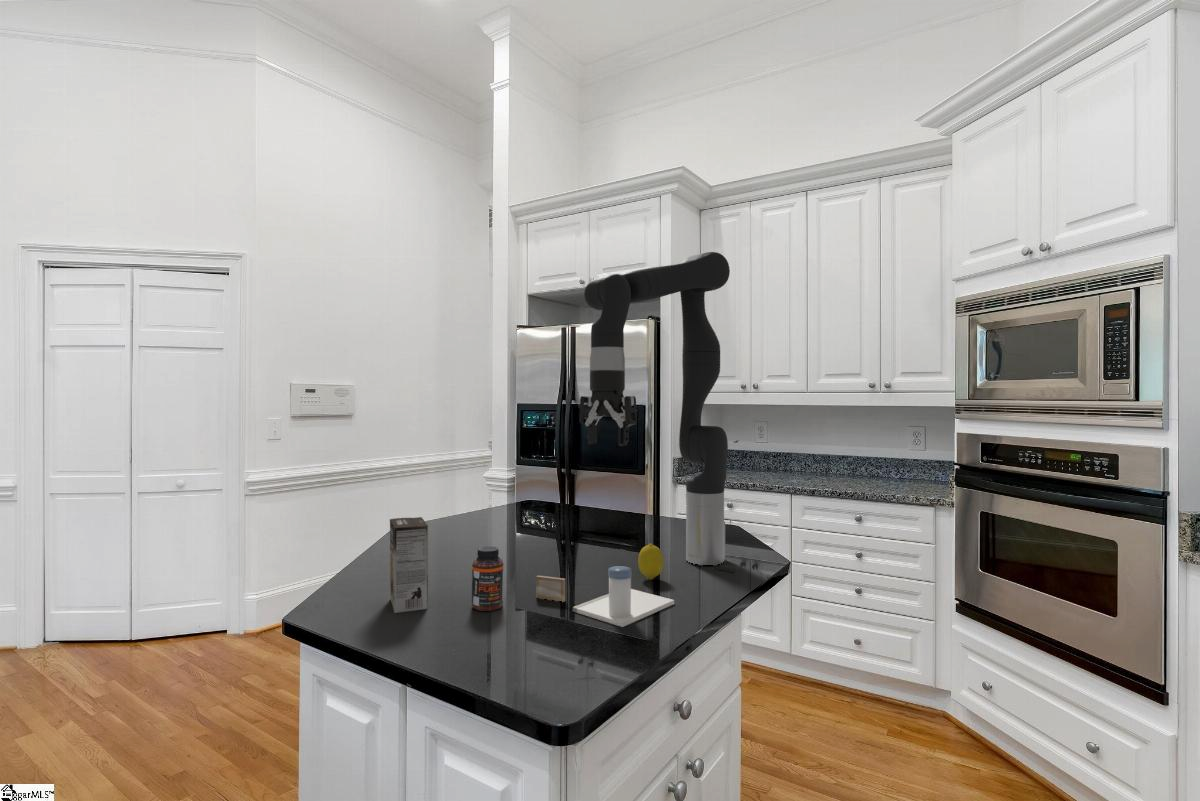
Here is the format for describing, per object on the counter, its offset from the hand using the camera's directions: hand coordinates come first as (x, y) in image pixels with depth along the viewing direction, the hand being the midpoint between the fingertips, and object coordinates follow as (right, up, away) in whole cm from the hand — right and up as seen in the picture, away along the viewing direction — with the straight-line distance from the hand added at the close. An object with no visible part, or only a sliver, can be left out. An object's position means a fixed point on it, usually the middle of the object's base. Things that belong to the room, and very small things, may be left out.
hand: (607, 444), depth 133 cm
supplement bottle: (-23, -30, -14) cm, 41 cm away
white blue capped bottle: (+2, -29, -20) cm, 36 cm away
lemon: (+10, -30, +4) cm, 32 cm away
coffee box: (-39, -30, -12) cm, 51 cm away
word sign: (-11, -30, -10) cm, 34 cm away
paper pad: (+3, -30, -14) cm, 34 cm away
